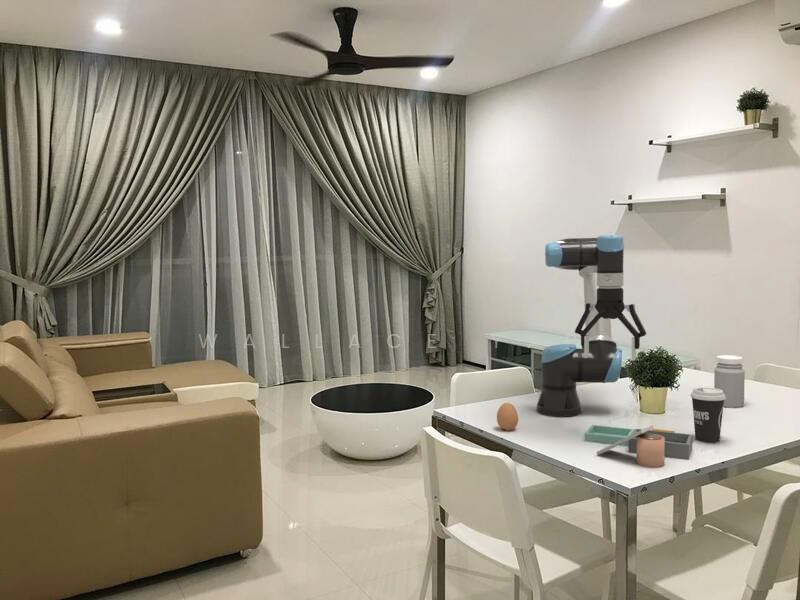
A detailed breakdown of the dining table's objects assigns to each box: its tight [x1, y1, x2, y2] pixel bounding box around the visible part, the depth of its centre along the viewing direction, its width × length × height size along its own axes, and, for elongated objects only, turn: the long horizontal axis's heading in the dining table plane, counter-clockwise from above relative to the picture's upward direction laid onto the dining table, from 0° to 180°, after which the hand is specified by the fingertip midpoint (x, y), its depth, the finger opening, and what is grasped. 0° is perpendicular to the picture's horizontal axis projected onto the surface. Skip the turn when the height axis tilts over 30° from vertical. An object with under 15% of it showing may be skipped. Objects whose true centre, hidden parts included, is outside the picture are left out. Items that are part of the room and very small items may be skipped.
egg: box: [496, 402, 519, 431], centre depth 211 cm, size 7×7×9 cm
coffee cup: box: [689, 386, 726, 444], centre depth 196 cm, size 10×10×15 cm
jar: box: [713, 354, 746, 409], centre depth 236 cm, size 10×10×18 cm
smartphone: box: [596, 425, 654, 455], centre depth 182 cm, size 7×15×1 cm
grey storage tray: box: [628, 428, 694, 460], centre depth 188 cm, size 16×11×5 cm
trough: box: [583, 424, 635, 448], centre depth 199 cm, size 13×11×2 cm
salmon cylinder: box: [635, 434, 665, 468], centre depth 177 cm, size 7×7×7 cm
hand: (609, 358), depth 198 cm, fingers open, 13 cm apart
